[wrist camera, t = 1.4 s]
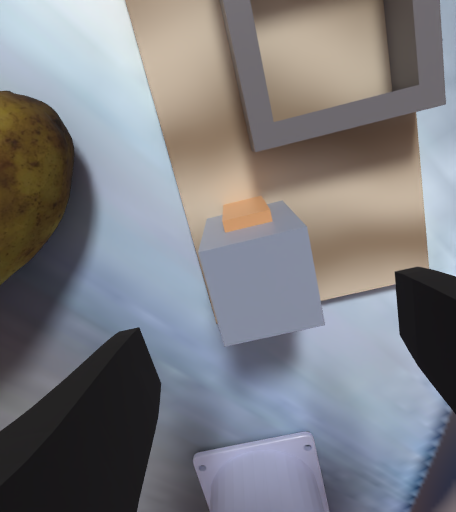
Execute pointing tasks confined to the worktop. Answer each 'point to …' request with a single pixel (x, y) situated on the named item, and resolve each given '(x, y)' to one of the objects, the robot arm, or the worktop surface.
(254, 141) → the frame
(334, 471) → the worktop surface
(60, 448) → the robot arm
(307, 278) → the plug
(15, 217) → the potato
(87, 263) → the worktop surface
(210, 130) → the board
